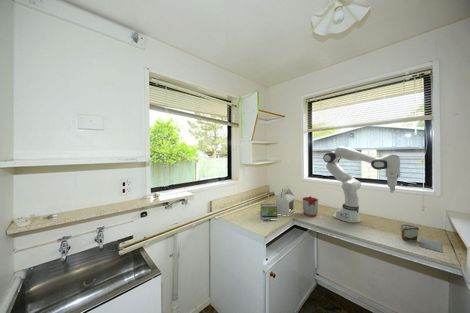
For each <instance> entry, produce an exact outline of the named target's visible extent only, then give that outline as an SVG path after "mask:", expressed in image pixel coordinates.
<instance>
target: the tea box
mask: <svg viewBox="0 0 470 313" xmlns="http://www.w3.org/2000/svg"><path fill="white" fill-rule="evenodd" d="M260 218H262V219H261V221H262V220H271V219H277V220H278V215H277V206H276V202H275V203H260Z"/></svg>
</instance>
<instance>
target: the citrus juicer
mask: <svg viewBox="0 0 470 313" xmlns="http://www.w3.org/2000/svg"><path fill="white" fill-rule="evenodd" d="M301 199H302V210H303V213H304V215H305V216H307V217H316V216H317V215H318V211H319V199H318V198H315V197H313V196H312V195H309V196H305V197H302V198H301Z"/></svg>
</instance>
